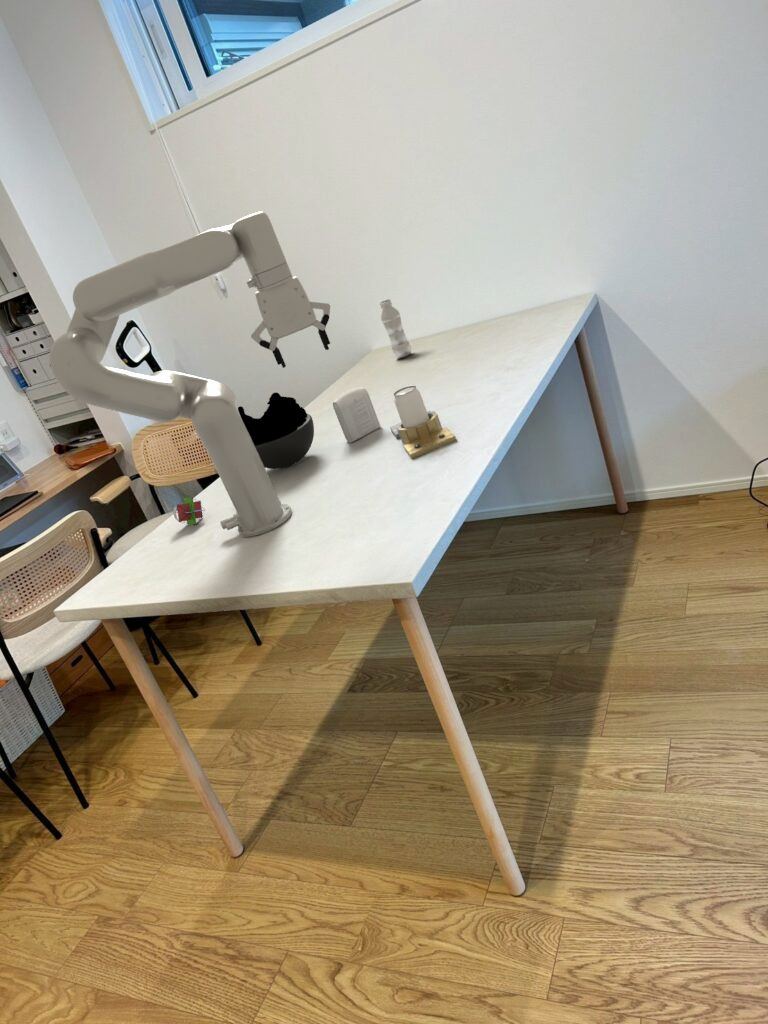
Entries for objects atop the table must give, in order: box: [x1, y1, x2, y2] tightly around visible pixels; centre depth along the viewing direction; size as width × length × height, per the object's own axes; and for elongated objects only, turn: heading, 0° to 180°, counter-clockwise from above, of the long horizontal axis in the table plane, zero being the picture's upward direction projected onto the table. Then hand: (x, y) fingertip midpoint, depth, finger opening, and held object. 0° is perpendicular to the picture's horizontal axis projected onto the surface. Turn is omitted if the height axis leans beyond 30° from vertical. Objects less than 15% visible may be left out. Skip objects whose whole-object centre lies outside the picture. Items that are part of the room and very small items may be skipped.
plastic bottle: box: [379, 298, 413, 359], centre depth 268 cm, size 6×7×20 cm
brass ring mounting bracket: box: [389, 410, 458, 460], centre depth 189 cm, size 11×26×4 cm, turn 11°
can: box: [393, 385, 430, 428], centre depth 187 cm, size 6×6×12 cm
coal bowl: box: [238, 392, 315, 470], centre depth 203 cm, size 20×20×19 cm
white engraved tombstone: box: [332, 386, 381, 443], centre depth 205 cm, size 10×4×12 cm, turn 123°
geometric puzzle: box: [172, 497, 206, 526], centre depth 191 cm, size 7×7×8 cm
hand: (305, 357), depth 163 cm, fingers open, 9 cm apart
